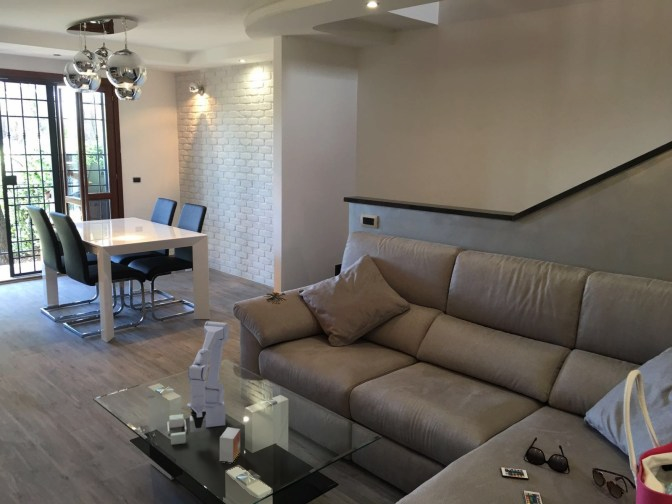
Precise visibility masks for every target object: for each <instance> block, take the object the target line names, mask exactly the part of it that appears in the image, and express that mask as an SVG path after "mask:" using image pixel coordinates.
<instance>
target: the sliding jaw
mask: <svg viewBox="0 0 672 504" xmlns="http://www.w3.org/2000/svg"><path fill="white" fill-rule="evenodd" d="M168 420H169V429H174V428H182V427H184V414H183V413H180V414H173V415H172V414H171V415H169V419H168Z"/></svg>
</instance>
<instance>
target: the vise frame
mask: <svg viewBox="0 0 672 504" xmlns="http://www.w3.org/2000/svg"><path fill="white" fill-rule="evenodd" d="M166 424H167V425H166V426H167V434H168V435H170V444H171V445H179V444H186V443H187V440H186V439H187V438H186V437H187V436H186V433H187V431H188V429H187V423H186V419H184V431H182V432H181V431H180V432H172V433H171V432H170V424H169V421H166ZM171 445H170V446H171Z"/></svg>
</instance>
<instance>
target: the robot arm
mask: <svg viewBox="0 0 672 504" xmlns="http://www.w3.org/2000/svg"><path fill="white" fill-rule="evenodd" d="M230 329H231V328H230V324H229V323H228V322H222V321H221V322H218V321H209V320H207V321H206V322H205V323H204V326H203V333H204V342H203V344H202V346H201V347H202V348H201V349H199V350H198V351H197V354H196V356H195V358H194V360H193V363H192V365H189V366H188V369H187V379H188V383H189V387H190V388H189V391H190V392H189V393H190V394H189V396H190V397H189V398H190V399H189V400H190V403H189V402H188V403H187V404H186V405H187V406H186V407H187V408H190V410H191V412H190V416H192V417H193V419H194V422H195V427H196V428H201V427H202V422H203V419H204V417H206V428H210V427H211V428H213V427H219V426H220V427H221V426H226V404H225V401H224V399H225V386H224V385H223V383H222V382H220V373H221V365H222V360H223V359H222V358H223V351H224V345H225V343H227V342H228V341H229V337H230V331H231V330H230ZM206 379H207V380H206Z"/></svg>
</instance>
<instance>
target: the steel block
mask: <svg viewBox="0 0 672 504" xmlns="http://www.w3.org/2000/svg"><path fill="white" fill-rule="evenodd" d="M189 430H190V433H196V432H197V433H198V432H203V431H204V432H205V431H206V430H207V427H206V417H204V419H203V422H202V427H201V428H196V427H195V422H194V419H193V417H192V415H189Z"/></svg>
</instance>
